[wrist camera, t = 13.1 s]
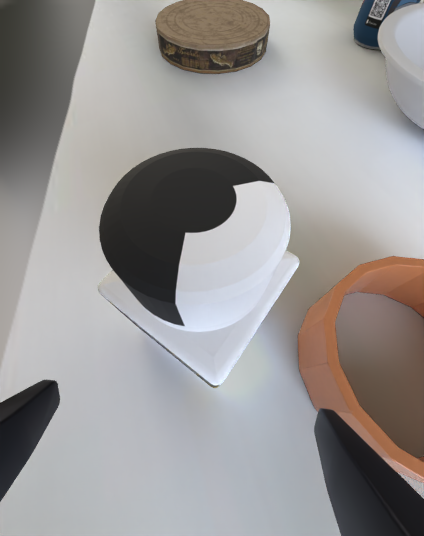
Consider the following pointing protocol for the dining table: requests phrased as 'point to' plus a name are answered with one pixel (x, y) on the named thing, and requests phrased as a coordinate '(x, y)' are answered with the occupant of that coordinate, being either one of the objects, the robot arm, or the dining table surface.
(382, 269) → the terracotta pot
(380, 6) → the soda can
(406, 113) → the soup bowl
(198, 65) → the brown round flat disc
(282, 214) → the medicine bottle
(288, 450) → the dining table surface
